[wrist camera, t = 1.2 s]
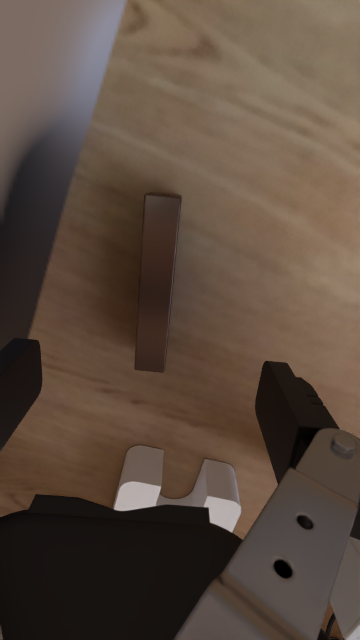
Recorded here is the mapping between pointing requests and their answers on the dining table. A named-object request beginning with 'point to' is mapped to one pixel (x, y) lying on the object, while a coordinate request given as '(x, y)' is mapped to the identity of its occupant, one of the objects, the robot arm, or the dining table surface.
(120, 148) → the dining table surface
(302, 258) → the dining table surface
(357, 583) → the cosmetic box
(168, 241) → the stick
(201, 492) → the white slotted bracket
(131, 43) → the dining table surface
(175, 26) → the dining table surface
